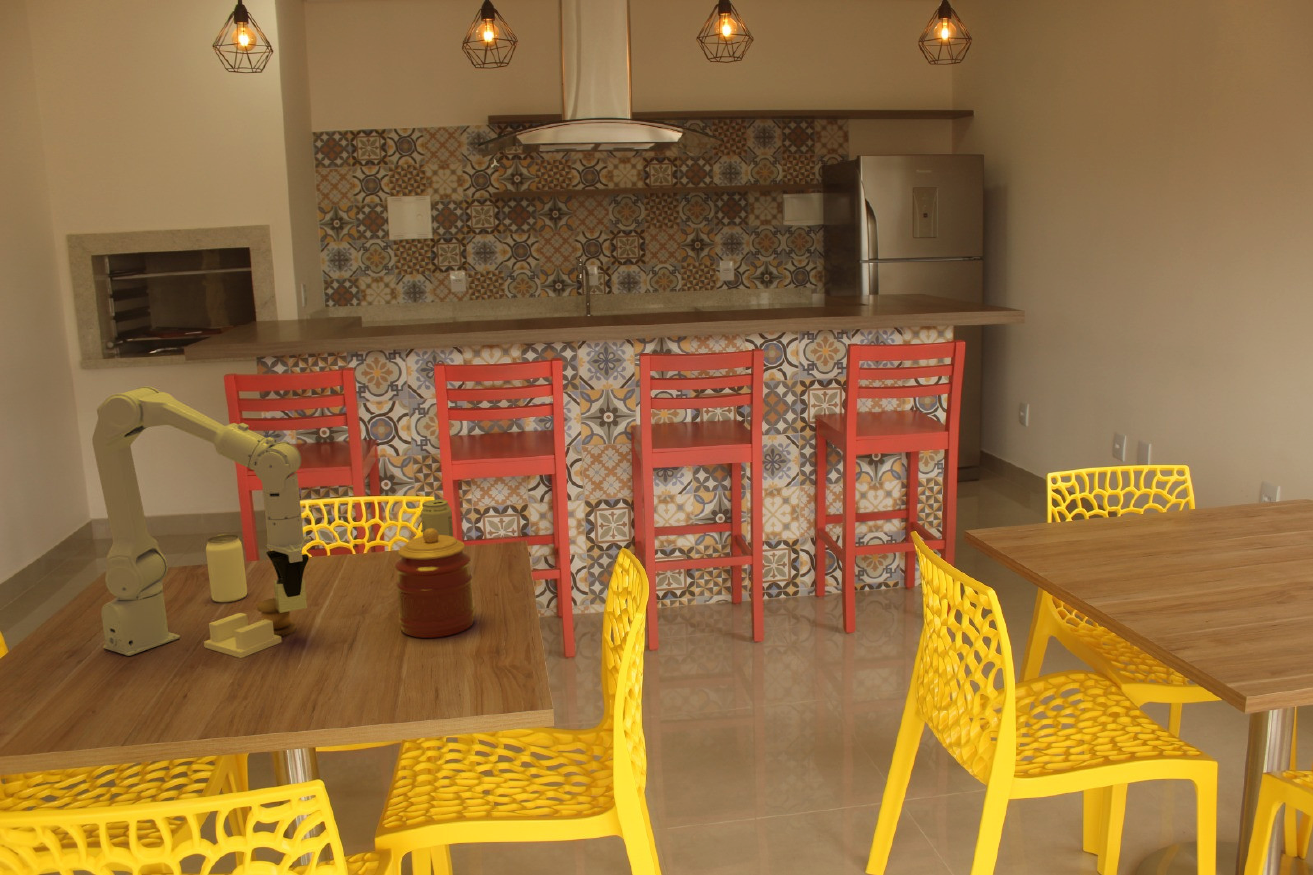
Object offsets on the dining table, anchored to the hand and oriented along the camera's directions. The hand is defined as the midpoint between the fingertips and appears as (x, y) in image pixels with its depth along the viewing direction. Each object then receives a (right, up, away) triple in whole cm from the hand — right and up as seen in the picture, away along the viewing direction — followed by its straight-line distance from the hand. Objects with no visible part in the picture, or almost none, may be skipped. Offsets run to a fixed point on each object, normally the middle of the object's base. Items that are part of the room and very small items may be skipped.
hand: (291, 593), depth 180 cm
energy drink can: (+18, -2, +35) cm, 39 cm away
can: (-21, -5, +25) cm, 33 cm away
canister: (+24, -7, +5) cm, 25 cm away
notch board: (-8, -9, 0) cm, 12 cm away
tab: (0, -3, 0) cm, 3 cm away
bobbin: (-4, -8, +6) cm, 10 cm away
